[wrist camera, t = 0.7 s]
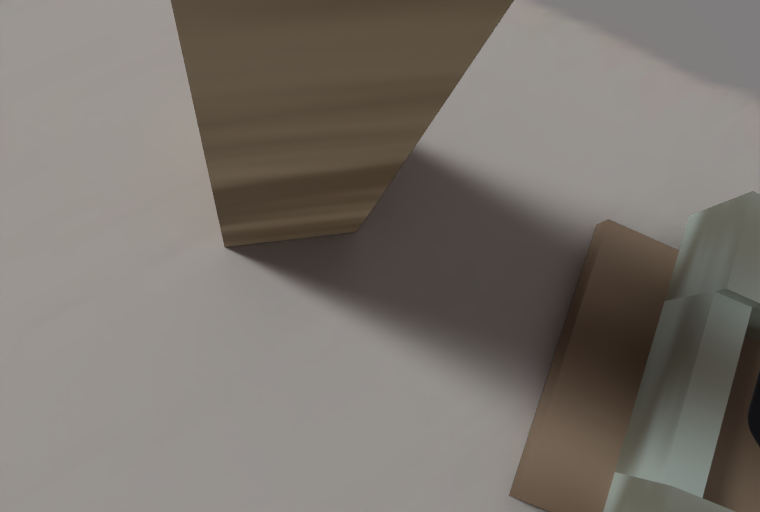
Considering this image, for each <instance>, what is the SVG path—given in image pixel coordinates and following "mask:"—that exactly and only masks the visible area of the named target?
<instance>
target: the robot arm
mask: <svg viewBox="0 0 760 512" xmlns="http://www.w3.org/2000/svg"><path fill="white" fill-rule="evenodd" d="M747 422H748V427H749V430H750V432H751V434H752V436H753V438H754V440H755V441H756V443H757V444H758V446H759V447H760V371H759V374H758V377H757V381H756V384H755V388H754V391H753V395H752V398H751V402H750V405H749V409H748V413H747Z"/></svg>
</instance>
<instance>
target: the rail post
mask: <svg viewBox="0 0 760 512" xmlns="http://www.w3.org/2000/svg"><path fill="white" fill-rule="evenodd" d="M513 1H514V0H171V3H172V8H173V13H174V17H175V22H176V26H177V31H178V35H179V40H180V45H181V49H182V54H183V58H184V63H185V68H186V72H187V77H188V81H189V86H190V90H191V95H192V100H193V104H194V109H195V113H196V118H197V122H198V127H199V132H200V136H201V141H202V145H203V150H204V155H205V159H206V164H207V168H208V173H209V177H210V182H211V187H212V191H213V196H214V200H215V205H216V210H217V214H218V219H219V223H220V228H221V232H222V237H223V242H224V246H225V247H231V246H240V245H248V244H257V243H265V242H274V241H282V240H291V239H300V238H308V237H317V236H325V235H334V234H342V233H351V232H357V231H358V230H359V228H360V227H361V225H362V224H363V222H364V221H365V219H366V218H367V216H368V215H369V213H370V212H371V211H372V209H373V208H374V206H375V205H376V203H377V202H378V200H379V199H380V197H381V196H382V194H383V193H384V191H385V190H386V188H387V187H388V185H389V184H390V182H391V181H392V180H393V178H394V177H395V175H396V174H397V172H398V171H399V169H400V168H401V166H402V165H403V163H404V162H405V160H406V159H407V157H408V156H409V154H410V153H411V151H412V150H413V149H414V147H415V146H416V144H417V143H418V141H419V140H420V138H421V137H422V135H423V134H424V132H425V131H426V129H427V128H428V126H429V125H430V123H431V122H432V120H433V119H434V118H435V116H436V115H437V113H438V112H439V110H440V109H441V107H442V106H443V104H444V103H445V101H446V100H447V98H448V97H449V95H450V94H451V92H452V91H453V89H454V88H455V87H456V85H457V84H458V82H459V81H460V79H461V78H462V76H463V75H464V73H465V72H466V70H467V69H468V67H469V66H470V64H471V63H472V61H473V60H474V58H475V57H476V56H477V54H478V53H479V51H480V50H481V48H482V47H483V45H484V44H485V42H486V41H487V39H488V38H489V36H490V35H491V33H492V32H493V30H494V29H495V27H496V26H497V25H498V23H499V22H500V20H501V19H502V17H503V16H504V14H505V13H506V11H507V10H508V8H509V7H510V5H511V4H512V2H513Z"/></svg>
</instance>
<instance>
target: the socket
mask: <svg viewBox="0 0 760 512" xmlns="http://www.w3.org/2000/svg"><path fill="white" fill-rule="evenodd" d="M759 371H760V194H758V193H755V192H753V191H752V192H749V193H747V194H744V195H742V196H739V197H737V198H734V199H731V200H729V201H726V202H724V203H721V204H718V205H716V206H713V207H711V208H708V209H705V210H703V211H700V212H698V213H695V214H692V215H690V216H689V219H688V223H687V226H686V229H685V233H684V236H683V240H682V243H681V247H680V250H677V249H675V248H672V247H670V246H668V245H665V244H663V243H661V242H659V241H656V240H654V239H652V238H650V237H647V236H645V235H643V234H641V233H638V232H636V231H634V230H631V229H629V228H627V227H625V226H622V225H620V224H618V223H616V222H613V221H611V220H609V219H608V220H606V221H604V222H602V223H599V224H597V225H596V228H595V231H594V234H593V237H592V240H591V244H590V247H589V250H588V253H587V256H586V259H585V262H584V265H583V268H582V271H581V275H580V278H579V281H578V284H577V287H576V290H575V293H574V296H573V299H572V302H571V305H570V309H569V312H568V315H567V318H566V321H565V324H564V327H563V330H562V333H561V336H560V339H559V343H558V346H557V349H556V352H555V355H554V358H553V361H552V364H551V367H550V370H549V373H548V377H547V380H546V383H545V386H544V389H543V392H542V395H541V398H540V401H539V404H538V407H537V411H536V414H535V417H534V420H533V423H532V426H531V429H530V432H529V435H528V438H527V442H526V445H525V448H524V451H523V454H522V457H521V460H520V463H519V466H518V469H517V472H516V476H515V479H514V482H513V485H512V488H511V491H510V494H509V495H510V496H512V497H514V498H517V499H519V500H521V501H524V502H526V503H529V504H531V505H534V506H537V507H539V508H542V509H544V510H547V511H549V512H760V447H759V446H758V444H757V443H756V441H755V440H754V438H753V436H752V434H751V432H750V430H749V427H748V422H747V413H748V409H749V405H750V402H751V398H752V395H753V391H754V388H755V384H756V381H757V377H758V374H759Z"/></svg>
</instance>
